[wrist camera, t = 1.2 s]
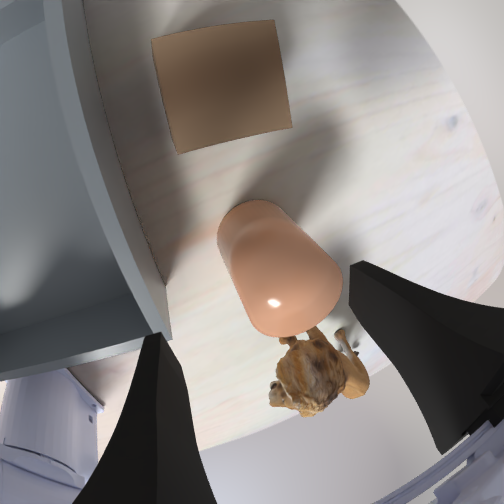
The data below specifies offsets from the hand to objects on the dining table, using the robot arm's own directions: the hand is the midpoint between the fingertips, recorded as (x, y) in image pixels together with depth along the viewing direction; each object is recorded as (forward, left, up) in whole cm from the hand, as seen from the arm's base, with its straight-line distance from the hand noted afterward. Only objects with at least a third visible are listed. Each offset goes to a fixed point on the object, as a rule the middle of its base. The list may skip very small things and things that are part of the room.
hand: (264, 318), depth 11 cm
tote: (+6, +13, -10) cm, 17 cm away
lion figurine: (-15, -5, -10) cm, 18 cm away
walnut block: (+8, -1, -10) cm, 13 cm away
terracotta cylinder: (-2, -2, -10) cm, 10 cm away
